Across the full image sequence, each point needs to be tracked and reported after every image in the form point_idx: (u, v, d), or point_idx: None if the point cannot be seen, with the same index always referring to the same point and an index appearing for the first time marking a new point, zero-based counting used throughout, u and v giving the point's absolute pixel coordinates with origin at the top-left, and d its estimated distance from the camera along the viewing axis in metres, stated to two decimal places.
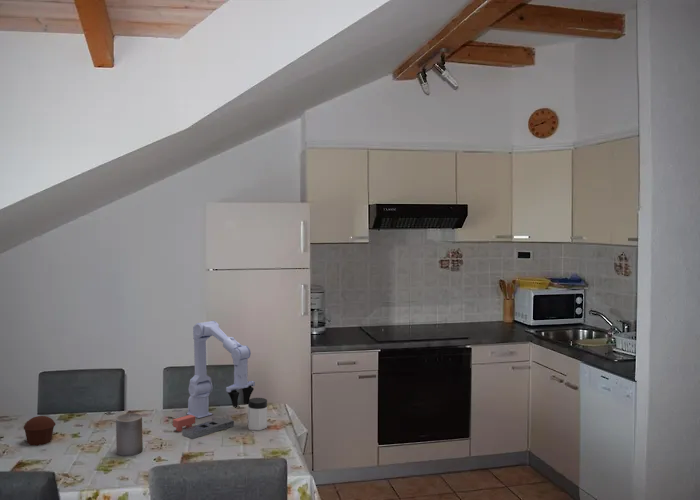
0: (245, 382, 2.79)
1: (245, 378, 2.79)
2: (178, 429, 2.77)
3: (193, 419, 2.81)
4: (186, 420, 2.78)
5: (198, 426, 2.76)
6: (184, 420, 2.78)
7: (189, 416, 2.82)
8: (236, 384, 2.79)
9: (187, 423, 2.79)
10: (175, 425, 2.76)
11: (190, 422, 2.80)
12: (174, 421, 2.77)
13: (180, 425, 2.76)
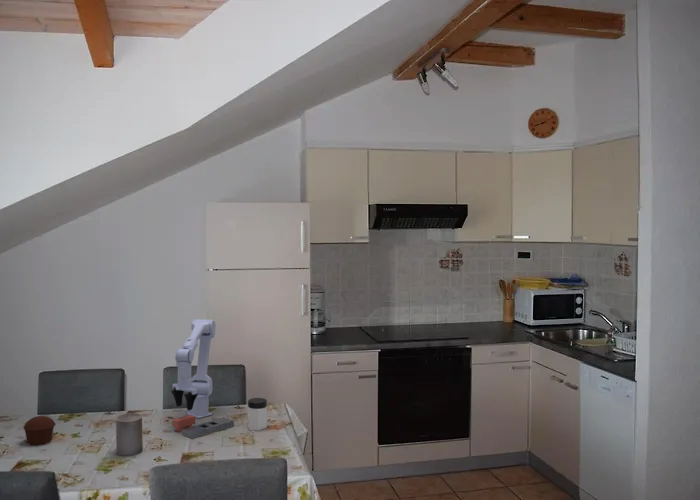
0: (179, 385, 2.76)
1: (179, 381, 2.76)
2: (178, 429, 2.77)
3: (193, 419, 2.81)
4: (186, 420, 2.78)
5: (198, 426, 2.76)
6: (184, 420, 2.78)
7: (189, 416, 2.82)
8: None
9: (187, 423, 2.79)
10: (175, 425, 2.76)
11: (190, 422, 2.80)
12: (174, 421, 2.77)
13: (180, 425, 2.76)
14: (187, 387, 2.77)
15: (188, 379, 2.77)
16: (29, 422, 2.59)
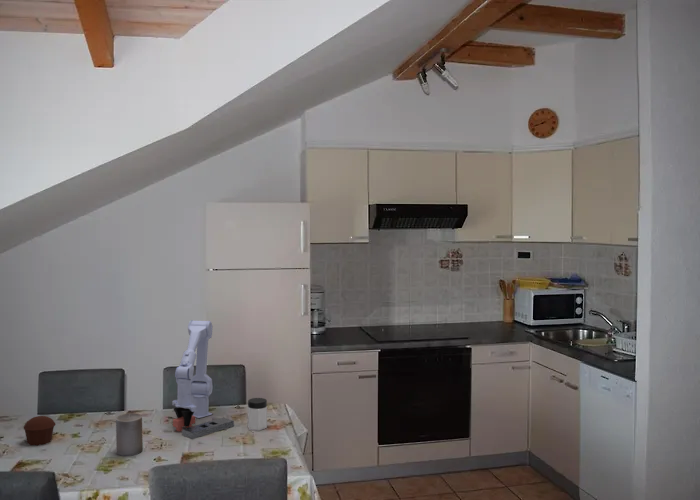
0: (179, 402, 2.77)
1: (179, 398, 2.77)
2: (178, 429, 2.77)
3: (193, 419, 2.81)
4: None
5: (198, 426, 2.76)
6: None
7: None
8: None
9: None
10: (175, 425, 2.76)
11: (190, 422, 2.80)
12: (174, 421, 2.77)
13: (180, 425, 2.76)
14: (187, 404, 2.77)
15: (188, 396, 2.77)
16: (29, 422, 2.59)
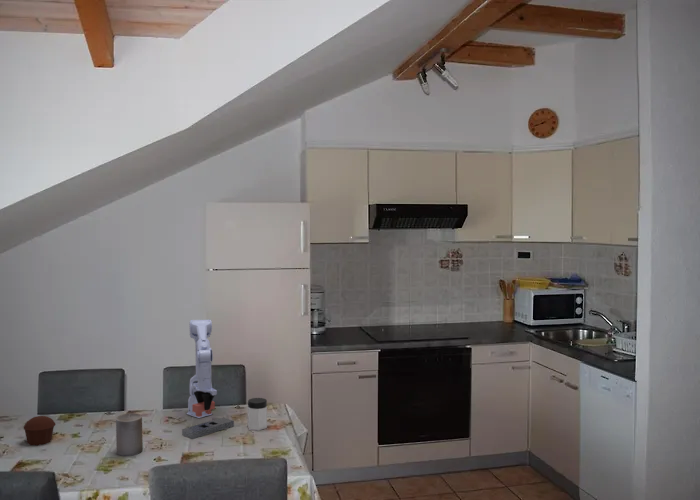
0: (199, 385, 2.76)
1: (199, 381, 2.75)
2: (198, 414, 2.76)
3: (212, 404, 2.80)
4: None
5: (198, 426, 2.76)
6: None
7: None
8: None
9: None
10: (195, 410, 2.75)
11: None
12: (194, 406, 2.75)
13: (200, 410, 2.75)
14: (207, 388, 2.76)
15: (208, 380, 2.76)
16: (29, 422, 2.59)
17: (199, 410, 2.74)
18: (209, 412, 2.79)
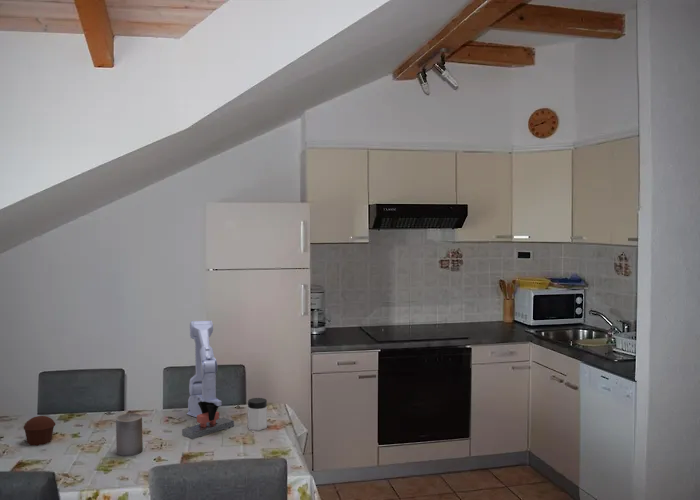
0: (203, 396, 2.76)
1: (203, 392, 2.76)
2: (202, 425, 2.76)
3: (217, 415, 2.80)
4: None
5: (198, 426, 2.76)
6: (208, 416, 2.76)
7: None
8: None
9: None
10: (199, 421, 2.75)
11: (214, 418, 2.79)
12: (198, 417, 2.75)
13: (204, 421, 2.75)
14: (211, 398, 2.76)
15: (213, 390, 2.76)
16: (29, 422, 2.59)
17: (204, 421, 2.74)
18: (213, 422, 2.79)
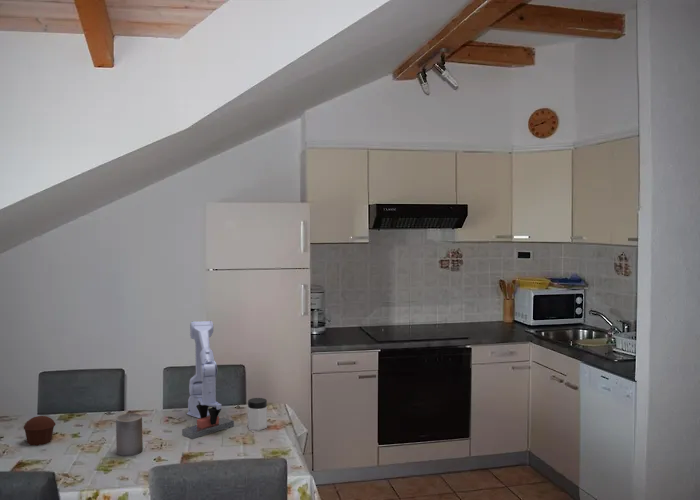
0: (203, 399, 2.76)
1: (203, 395, 2.76)
2: None
3: (217, 419, 2.80)
4: None
5: None
6: (208, 421, 2.76)
7: None
8: None
9: None
10: (199, 425, 2.75)
11: None
12: (198, 421, 2.75)
13: (204, 425, 2.75)
14: (211, 402, 2.76)
15: (213, 394, 2.76)
16: (29, 422, 2.59)
17: (204, 425, 2.75)
18: None
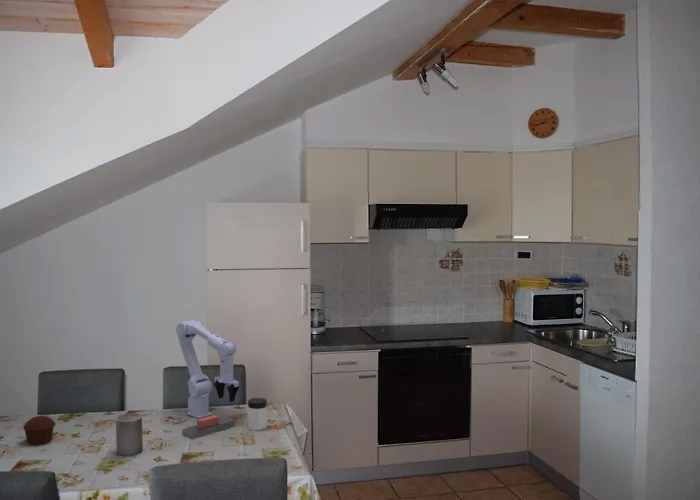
0: (222, 377, 2.88)
1: (222, 373, 2.88)
2: None
3: (217, 419, 2.80)
4: (210, 420, 2.77)
5: None
6: (208, 421, 2.76)
7: (213, 416, 2.80)
8: None
9: (211, 423, 2.78)
10: (199, 425, 2.75)
11: (214, 422, 2.79)
12: (198, 421, 2.75)
13: (204, 425, 2.75)
14: (229, 380, 2.88)
15: (230, 372, 2.88)
16: (29, 422, 2.59)
17: (204, 425, 2.75)
18: None
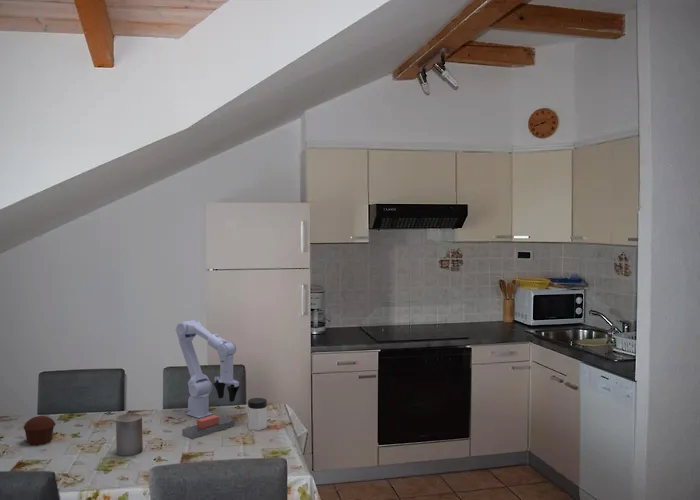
0: (222, 377, 2.88)
1: (222, 373, 2.88)
2: None
3: (217, 419, 2.80)
4: (210, 420, 2.77)
5: None
6: (208, 421, 2.76)
7: (213, 416, 2.80)
8: None
9: (211, 423, 2.78)
10: (199, 425, 2.75)
11: (214, 422, 2.79)
12: (198, 421, 2.75)
13: (204, 425, 2.75)
14: (229, 380, 2.88)
15: (230, 372, 2.88)
16: (29, 422, 2.59)
17: (204, 425, 2.75)
18: None
